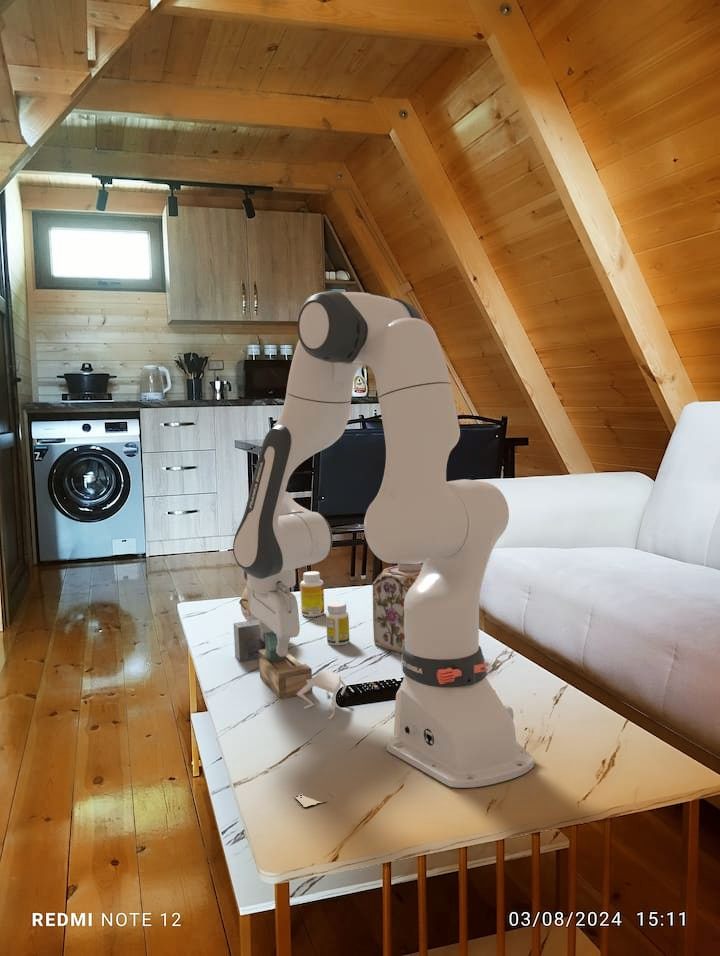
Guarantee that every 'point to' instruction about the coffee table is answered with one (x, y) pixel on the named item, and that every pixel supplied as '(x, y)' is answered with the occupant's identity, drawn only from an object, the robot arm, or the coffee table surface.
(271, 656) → the slide bar
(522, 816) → the coffee table surface
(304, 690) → the origami figure
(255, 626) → the socket block
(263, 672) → the guide channel
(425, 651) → the robot arm
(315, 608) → the supplement bottle
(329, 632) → the supplement bottle
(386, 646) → the decorative jar
